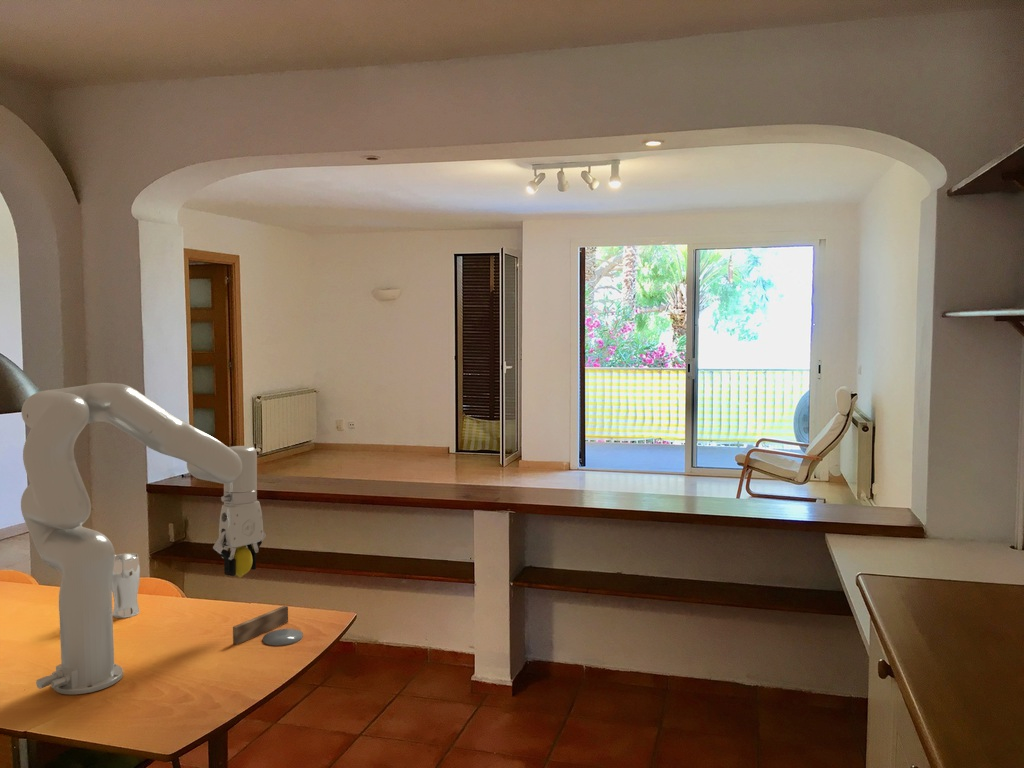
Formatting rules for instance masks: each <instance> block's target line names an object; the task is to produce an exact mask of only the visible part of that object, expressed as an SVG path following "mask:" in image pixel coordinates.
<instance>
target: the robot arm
mask: <svg viewBox="0 0 1024 768" xmlns="http://www.w3.org/2000/svg"><path fill="white" fill-rule="evenodd" d="M21 418H22V420H23V421H24V424H25V425H26V426H27V427H28V428H29V429H30V430H29V433H28V435H27V436H26V439H25V441H24V445H23V449H22V460H23V466H24V469H25V472H26V475H27V479H28V482H29V485H28V486H26V488H25V489H24V491H23V493H22V495H21V498H20V511H21V514H22V518H23V520H24V522H25V525H26V527H27V530H28V532H29V535H30V537H31V540H32V542H33V544H34V547H35V549H36V551H37V553H38V555H39V556H40V557H39V558H41V560H42V562H44V563H45V565H48V567H50V568H53V569H55V570H57V571H60V572H61V574H62V575H61V583H60V586H59V592H58V611H59V612H58V613H59V614H58V615H59V637H60V638H59V639H60V660H61V661H60V663H61V664H58V665H56V666H55V671H52V673H51V674H50V675H46V676H43V677H41V678H39V679H37V680H36V687H37V689H39V690H41V689H43V688H47V687H48V686H50V687H51V688H52V689H53V690H54V691H55V692H56V693H58V694H62V695H73V696H74V695H82V694H88V693H89V694H90V693H94V692H98V691H101V690H104V689H106V688H108V687H112V686H113V685H114V684H116V683H118V682H119V681H120V680H121V679H122V678H123V676H124V670H123V667H122V666H120V665H118V664H116V663H115V652H114V651H115V646H114V624H113V623H114V622H113V621H114V619H113V618H114V617H113V596H112V595H113V592H112V574H113V568H114V561H115V555H116V552H115V547H114V545H113V543H112V541H111V540H110V539H109V538H108V537H107V536H106V535H105V534H104V533H102V532H100V531H98V530H95V529H91V528H88V527H85V526H83V524H85V523H86V521H87V520H88V519H89V518H90V515H91V512H92V503H91V499H90V496H89V494H88V491H87V489H86V485H85V484H84V481H83V479H82V475H81V474H80V471H79V469H78V465H77V462H76V458H75V452H74V451H75V449H74V448H75V444H76V441H77V439H78V437H79V435H80V434H81V432H82V431H83V430H84V429H85V427H86V426H87V425H89V424H92V423H93V424H94V423H97V422H100V423H101V422H103V423H108V424H110V425H113V426H114V427H115V428H117V429H119V430H121V431H122V432H123V433H126V434H127V435H129V436H130V437H131V438H134V439H135V440H137V441H138V442H139V443H141V444H142V445H144V446H146V447H147V448H149V449H150V450H152V451H155V452H156V453H159V454H161V455H165V456H169V457H172V458H175V459H178V460H181V461H183V462H185V463H186V468H187V470H188V473H189V474H190V475H191V476H193V477H194V478H196V479H198V480H202V481H208V482H213V483H217V484H218V483H219V484H223V496H221V497H220V500H221V502H222V503H223V504H222V505H221V509H220V516H219V524H218V538H217V539H216V541H215V542H214V545H213V546H212V549H213V550H214V551H216V552H217V554H219V556H220V557H221V558H222V559H223V561H224V562H223V564H224V566H223V567H224V568H223V570H224V571H223V572H224V575H226V576H230V577H234V576H237V575H236V560H235V559H233V558H234V554H235V550H236V548H238V547H242V546H245V547H247V548H248V549H249V550H250V552H251V554H252V559H253V562H252V567H251V569H250V570H256V569H257V553H259V548H260V547H261V546H262V542H263V541H264V540H265V538H266V537H267V534H266V532H265V531H264V525H263V524H264V522H263V512H262V511H263V510H262V507H261V503H260V501H259V500H258V497H257V496H258V489H257V488H258V479H257V478H258V476H257V475H258V473H257V472H258V453H257V449H256V448H255V447H253V446H250V445H235V446H234V445H233V446H228V445H225V444H224V443H223V442H221V441H220V440H218V439H217V438H216V437H213V436H211V435H210V434H208V433H206V432H204V431H203V430H200V429H198V428H196V427H194V426H193V425H191V424H190V423H188V422H186V421H185V420H182V419H180V418H178V417H177V416H175V415H173V414H172V413H170V412H169V411H167V410H166V409H164V408H163V407H162V406H160V405H159V404H157V403H155V401H153V400H152V399H151V398H149V397H147V396H145V395H144V394H142V392H140V391H138V390H137V389H136V388H133V387H132V386H130V385H127V384H124V383H115V382H113V383H112V382H98V383H97V382H96V383H90V384H84V385H79V386H78V385H77V386H71V387H63V388H55V389H46V390H41V391H37V392H35V393H33V394H31V395H29V397H28V398H26V399H25V401H24V402H23V404H22V407H21Z"/></svg>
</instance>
